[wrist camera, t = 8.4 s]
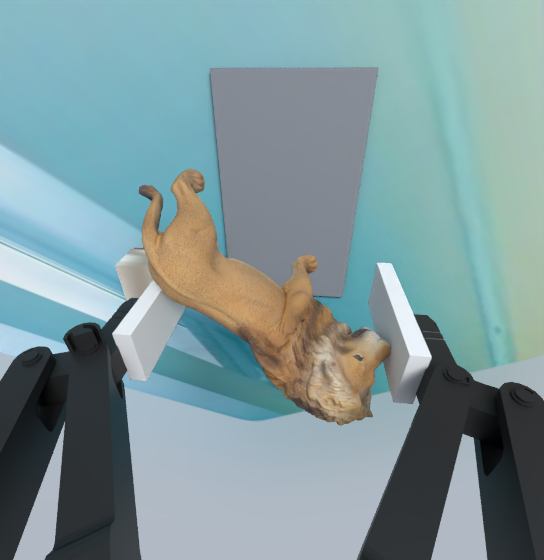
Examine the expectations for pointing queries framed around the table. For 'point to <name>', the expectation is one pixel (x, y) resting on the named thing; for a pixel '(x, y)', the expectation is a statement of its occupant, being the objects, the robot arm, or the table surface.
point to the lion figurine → (263, 310)
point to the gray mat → (292, 165)
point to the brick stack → (134, 273)
